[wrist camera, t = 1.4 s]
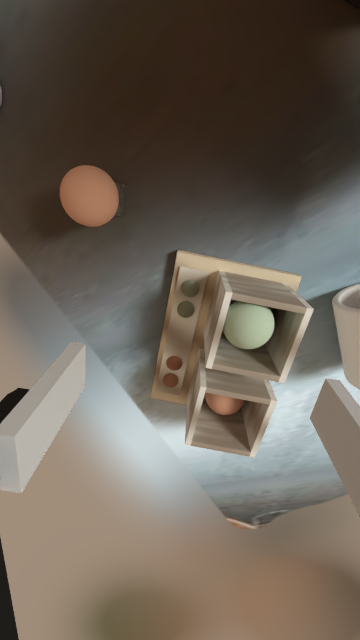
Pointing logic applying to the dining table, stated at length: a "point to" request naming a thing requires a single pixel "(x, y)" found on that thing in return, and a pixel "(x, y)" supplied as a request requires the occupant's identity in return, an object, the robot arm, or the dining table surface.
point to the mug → (349, 330)
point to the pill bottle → (0, 96)
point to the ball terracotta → (89, 195)
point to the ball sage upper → (248, 325)
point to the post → (121, 198)
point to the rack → (226, 348)
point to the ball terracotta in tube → (223, 404)
